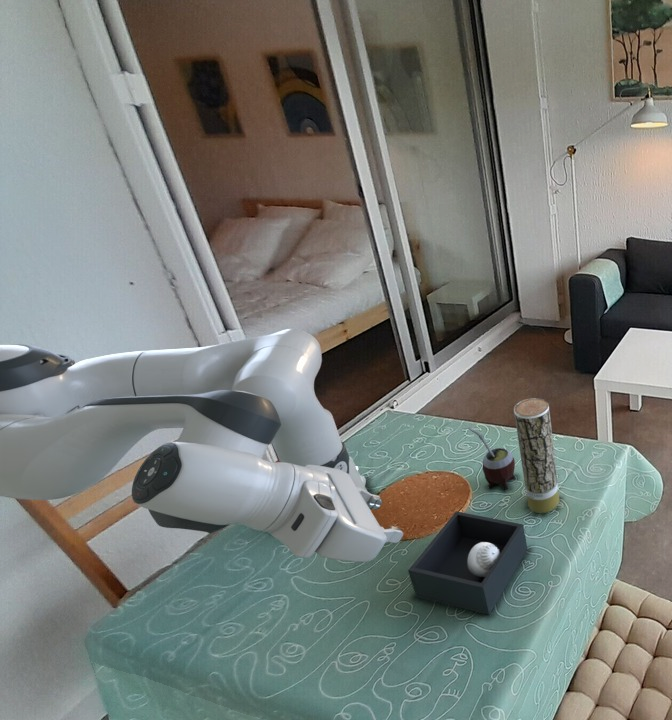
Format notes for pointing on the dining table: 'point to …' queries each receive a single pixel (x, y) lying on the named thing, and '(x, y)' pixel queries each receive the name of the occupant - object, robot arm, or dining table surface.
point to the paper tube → (537, 454)
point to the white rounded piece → (482, 558)
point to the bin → (450, 556)
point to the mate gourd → (497, 465)
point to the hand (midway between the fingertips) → (388, 518)
